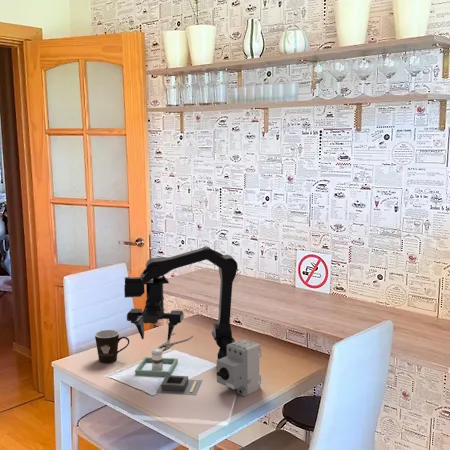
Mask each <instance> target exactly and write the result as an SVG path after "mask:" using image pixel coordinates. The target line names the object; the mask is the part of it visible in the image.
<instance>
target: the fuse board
mask: <svg viewBox="0 0 450 450" xmlns="http://www.w3.org/2000/svg"><path fill="white" fill-rule="evenodd" d="M202 383H203V380H201V379H189V376H188V375H187V376H186V375H172V374H171V375H167V376H164V378H163V379H162V381H161V382H160V385H159V386H158V389H157V390H156V392H155V393H156V394H167V395H182V396H183V395H185V396H197V394H198V393H199V390H200V388H201V386H202Z"/></svg>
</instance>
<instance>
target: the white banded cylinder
mask: <svg viewBox="0 0 450 450" xmlns="http://www.w3.org/2000/svg"><path fill="white" fill-rule="evenodd" d="M150 352H151V357H152V362H151V370H154V371H163V369H164V366H163V364H164V363H163V358H164V357H163V352H164V351H163V348H160V349H159V348H158V347H157V348H152V350H151V351H150Z"/></svg>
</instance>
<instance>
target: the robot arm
mask: <svg viewBox="0 0 450 450" xmlns="http://www.w3.org/2000/svg"><path fill="white" fill-rule="evenodd" d="M203 261H208V262H210V263H211V264H213V265H215V266H216V267H218V272H219V273H218V274H219V278H220V279H219V280H220V284H219V285H220V287H219V299H218V300H219V301H218V303H219V304H218V314H217V316H218V317H217V321H216V323H212V330H211V331H212V332H211V336H212V337H213V340H214V341H215V343H216V345H217V346H218V347H219V349H218V352H217V360H218V359H221V358H223V357H226V356H227V345H228V344H231V343H233V342H236V340H235V338H234V337H233V333H232V326H231V322H230V321H231V311H232V309H231V307H232V294H233V284H234V281H235V278H236V275H237V271H238V262H237V261H236V259H235V258H234V257H233V256H232V255H230V254H222V253H221V252H218V251H216V250H215V249H212V248H211V247H210V246H205V245H204V246H203V247H200V248H197V249H193V250H191V251H187V252H183V253H180V254H177V255H173V256H169V257H167V256H166V257H165V256H164V257H161V256H160V257H154V258H153V257H152V258H149V259H148V260H147V261H146V263H145V268H144V270H143V271H142V272H141V274H140V275H139V276H138V277H136V276H135V277H131V276H130V277H129V276H127V277H124V285H123V286H124V290H123V291H124V299H125V298H141V297H142V296H143V295H144V294H145V292H146V300H145V305H144V308H143V309H142V308H131V309H130V310H129V311H128V313H126V321H127V322H130V323H131V324H134V325H135V326H136V328H137V331H138V333H139V335H140V338H141V340H144V339H145V326H144V325H145V324H153V325H155V324H157V323H158V322H159V320H168V323H167V325H168V328H167V338H168V341H169V340H171V337H172V336H173V335H172V334H173V333H174V332H173V331H174V329H175V326H177V325H179V324H180V323H182V321H183V320H184V311H183V310H174V309H173V310H171V311H170V312H168V313H167V312H165V307H164V300H165V296H164V284H169V282H170V281H169V279H168V278H167V277H166V276H165V275H167V274H168V273H170V272H171V271H173V270H176V269H178V268H182V267H187V266H189V265H192V264H193V265H194V264H195V263H200V262H203ZM145 290H146V291H145ZM171 335H172V336H171Z"/></svg>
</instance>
